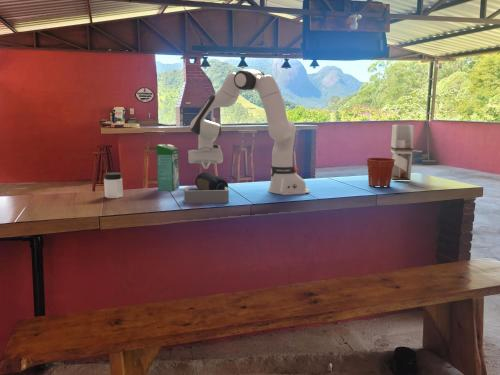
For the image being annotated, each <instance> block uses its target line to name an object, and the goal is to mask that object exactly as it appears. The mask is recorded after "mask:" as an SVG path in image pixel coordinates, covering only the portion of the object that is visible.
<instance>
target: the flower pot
mask: <svg viewBox="0 0 500 375" xmlns="http://www.w3.org/2000/svg"><path fill="white" fill-rule="evenodd" d="M365 159H366V166H367V173H368V174H367V177H368V186H369V185H371V186H380V187H384V186H391V183H392V181H391V176H392V170H393V166H394V161H395V159H392V157H391V158H388V157H367V158H365ZM371 186H370V187H371Z"/></svg>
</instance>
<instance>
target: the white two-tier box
mask: <svg viewBox="0 0 500 375" xmlns="http://www.w3.org/2000/svg"><path fill="white" fill-rule="evenodd" d="M391 126H392V130H391V142H390V152H391V153H392V156H391V159H395V161H394V166H393V170H392V176H391V179H392V180H410V181H411V178H412V177H411V176H412V165H413V164H412V163H413V151H414V140H415V138H414V137H415V125H414V124H413V125H412V124H392V125H391Z"/></svg>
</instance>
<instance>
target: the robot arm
mask: <svg viewBox="0 0 500 375" xmlns="http://www.w3.org/2000/svg"><path fill="white" fill-rule="evenodd" d="M242 91H257V93H258V95H259V97H260V101H261V105H262V107H263V109H264V113H265V117H266V121H267V123H266V124H267V126H268V134H269V137H270V138H271V139H272V140H274V143H273V148H272V151H271V166H270V183H269V184H270V185H269V189H268V192H269V193H271V194H279V195H282V196H283V195H284V196H287V195H289V196H290V195H304V194H306V193H308V194H310V193H311V191H310V189H309V188H307V185H306V184H307V183H306V182H305V179H304V178H302V177H301V176H300V175H299V174H298V173H297V172H298V170H299V168H298V167H295V166H293V156H294V155H293V153H294V144H295V138H296V134H297V133H296V132H297V126H296V124H295V123H294V122H293V121H292V120H290V119H288V117H287V110H286V104H285V100H284V98H283V96H282V93H281V90H280V88H279V86H278V83H277V82H276V80H275V78H274V76H273V75H271V74H265V72H263V71H262V70H260V69H252V68H247V69H245V68H243V69H240V70H237V72H230V73H229V74H228V75H227V77H226V78H225V79H224V81H223V83H222V85H221V87H220V88H219V90H218V91H217V92H216V93H214V94H210V96H209V97H208V98H207V100H206V101H205V102H204V103H203V105H202V107H201V108H200V109H199V111H198V113H197V114H196V116H194V117H193V119H192V120H191V122H190V125H189V130H190V132H191V133H192V134H193V135H197V136H198V138H197V139H198V146H197V148H194V149H188V150H187V154H188V159H187V160H188V163H189V164H201V166H202V167H203V169H209V167H210V165H211V164H223V162H224V155H223V151H222V149H221V145H219V144H218V145H217V144H214V142H215V141H217V140H219V139H220V137H221V135H222V127H221V125H220V123H217V122H215V121H211V120H207V119H206V118H207V116H208V115H209V113H210V112H211V110H213V109H216V108H229V107H231V106H233V105H234V104H236V102H237V101H238V99H239V96H240V94H241V92H242Z"/></svg>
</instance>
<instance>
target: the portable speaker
mask: <svg viewBox="0 0 500 375" xmlns="http://www.w3.org/2000/svg"><path fill="white" fill-rule="evenodd" d="M195 185H196V188H197V189H198V190H225V188H224V187H228V188H229V184H228V181H227V180H226V179H224V177H221V176H220V175H219V176H218V175H215V174H212V173H209V172H200V173H199V174H198V175H197V176H196V178H195Z"/></svg>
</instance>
